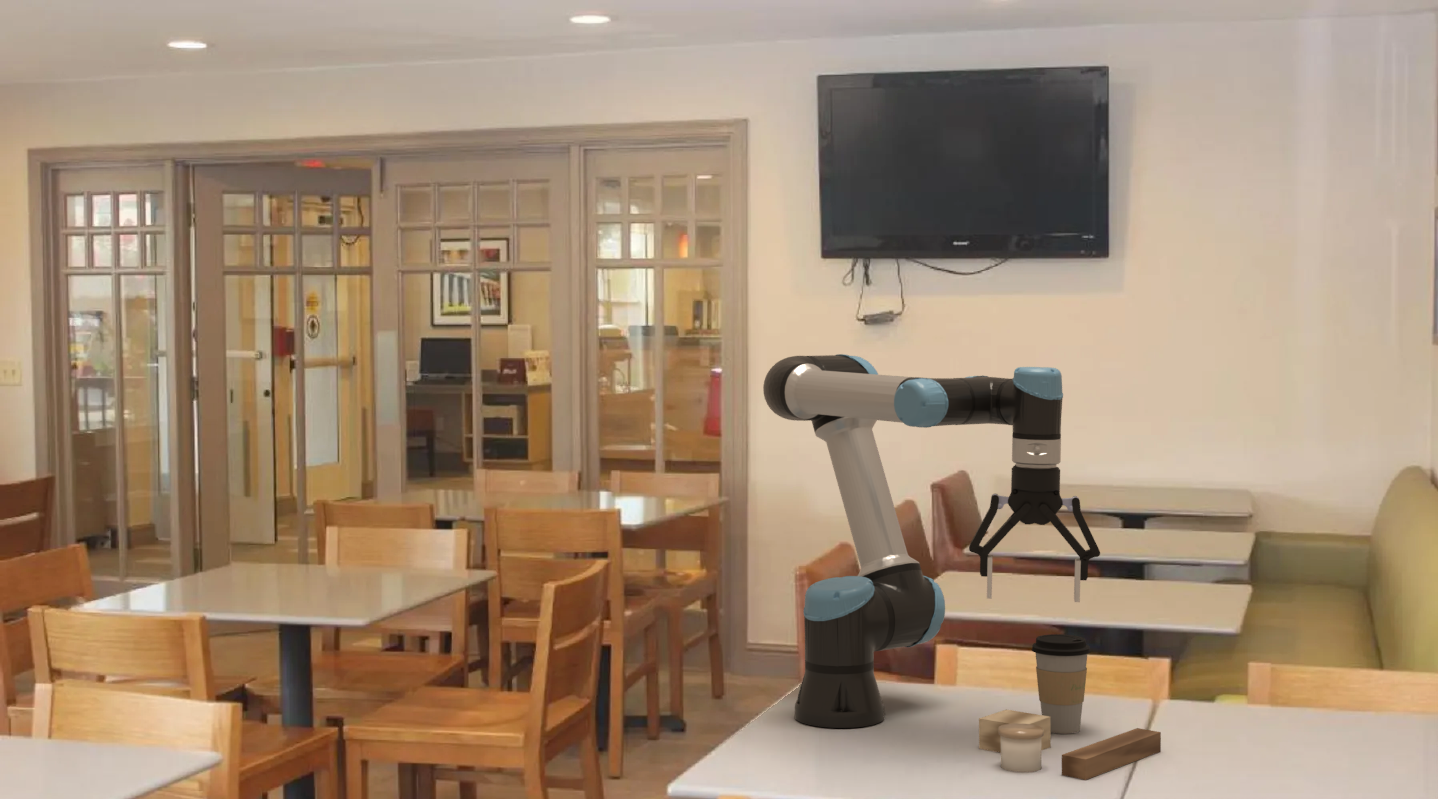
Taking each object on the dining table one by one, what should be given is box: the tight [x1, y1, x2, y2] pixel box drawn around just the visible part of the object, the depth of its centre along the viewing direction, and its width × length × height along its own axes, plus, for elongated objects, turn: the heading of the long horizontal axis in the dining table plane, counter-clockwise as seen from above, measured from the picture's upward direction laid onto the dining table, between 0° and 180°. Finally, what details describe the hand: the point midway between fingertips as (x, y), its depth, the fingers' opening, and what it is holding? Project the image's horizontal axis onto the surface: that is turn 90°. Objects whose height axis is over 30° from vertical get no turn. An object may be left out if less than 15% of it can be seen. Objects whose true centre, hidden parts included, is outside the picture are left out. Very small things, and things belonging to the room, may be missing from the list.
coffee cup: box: [1031, 633, 1091, 735], centre depth 264 cm, size 9×9×15 cm
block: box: [978, 709, 1052, 754], centre depth 253 cm, size 8×8×5 cm
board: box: [1061, 727, 1162, 781], centre depth 243 cm, size 4×22×3 cm, turn 136°
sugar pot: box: [999, 723, 1043, 773], centre depth 242 cm, size 7×7×6 cm
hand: (1032, 599), depth 255 cm, fingers open, 13 cm apart
